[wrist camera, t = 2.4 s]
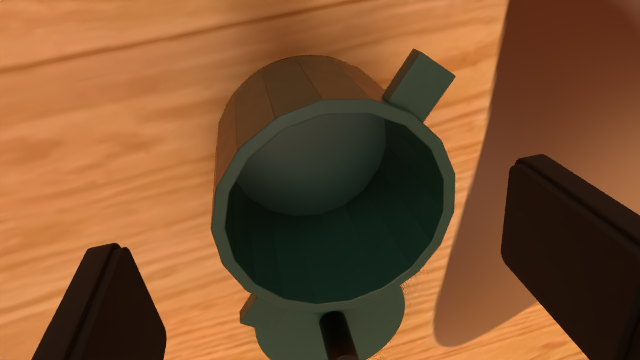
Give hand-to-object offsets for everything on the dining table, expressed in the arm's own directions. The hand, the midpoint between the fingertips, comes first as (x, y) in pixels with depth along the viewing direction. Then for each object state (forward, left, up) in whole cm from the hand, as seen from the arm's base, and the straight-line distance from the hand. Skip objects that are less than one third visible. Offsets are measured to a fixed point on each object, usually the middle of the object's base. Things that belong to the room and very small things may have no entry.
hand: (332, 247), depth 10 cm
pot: (+6, -4, -21) cm, 22 cm away
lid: (+17, -18, -20) cm, 32 cm away
